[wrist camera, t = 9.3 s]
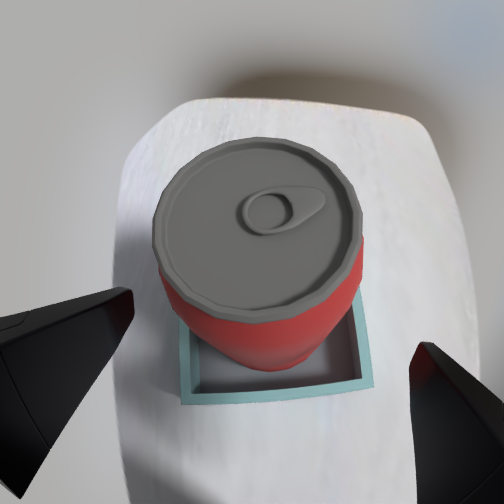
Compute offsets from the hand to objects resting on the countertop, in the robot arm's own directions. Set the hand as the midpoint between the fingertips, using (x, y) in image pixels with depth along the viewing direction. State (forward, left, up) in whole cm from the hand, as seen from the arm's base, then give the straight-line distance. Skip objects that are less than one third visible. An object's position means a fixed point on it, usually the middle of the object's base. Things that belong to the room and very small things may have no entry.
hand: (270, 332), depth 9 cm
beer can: (+3, 0, -10) cm, 10 cm away
